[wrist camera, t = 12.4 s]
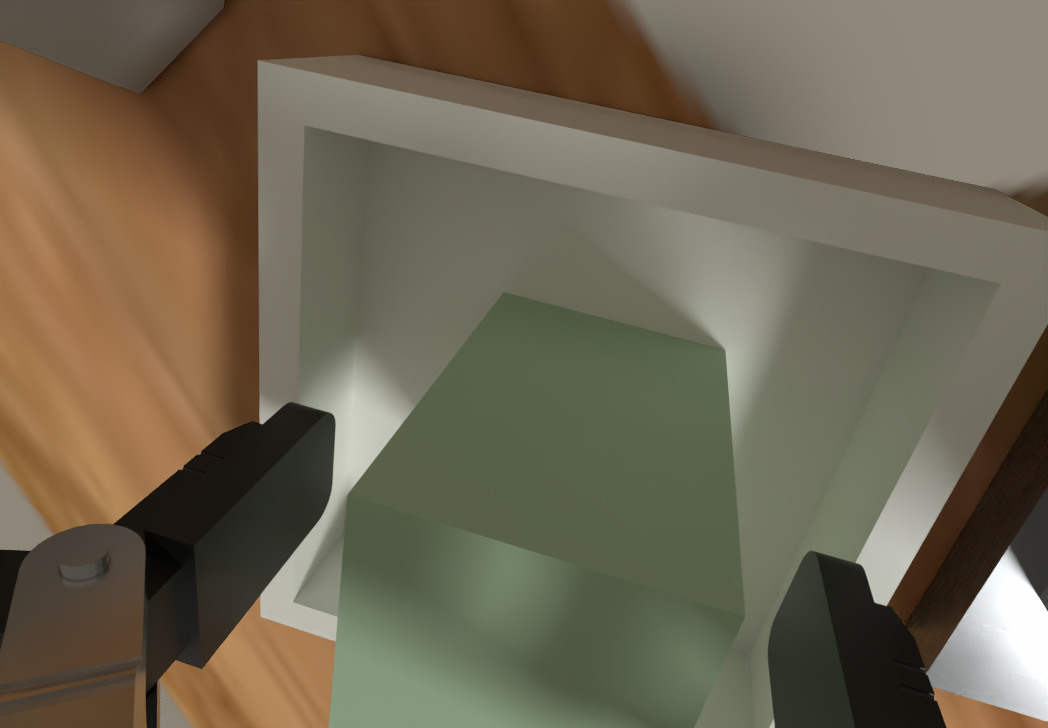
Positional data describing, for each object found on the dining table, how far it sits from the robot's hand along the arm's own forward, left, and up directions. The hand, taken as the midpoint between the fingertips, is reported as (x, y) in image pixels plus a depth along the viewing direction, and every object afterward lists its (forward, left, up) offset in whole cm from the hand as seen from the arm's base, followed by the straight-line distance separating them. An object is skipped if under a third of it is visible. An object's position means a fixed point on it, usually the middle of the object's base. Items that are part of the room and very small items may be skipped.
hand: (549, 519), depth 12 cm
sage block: (0, 0, -4) cm, 4 cm away
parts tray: (0, 0, -5) cm, 5 cm away
